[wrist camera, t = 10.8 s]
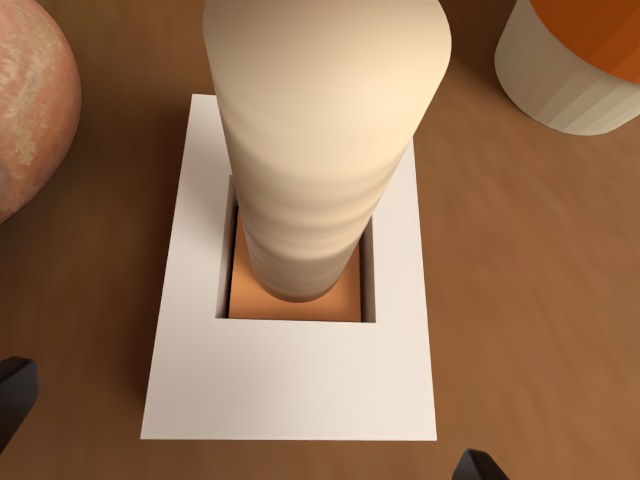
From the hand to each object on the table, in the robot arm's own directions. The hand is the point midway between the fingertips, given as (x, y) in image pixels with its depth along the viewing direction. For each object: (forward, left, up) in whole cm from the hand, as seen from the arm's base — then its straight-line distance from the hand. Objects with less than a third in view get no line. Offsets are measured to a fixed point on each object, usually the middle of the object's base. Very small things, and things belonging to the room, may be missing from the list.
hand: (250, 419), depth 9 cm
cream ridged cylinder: (+6, -1, -8) cm, 10 cm away
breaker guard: (+6, -1, -9) cm, 11 cm away
